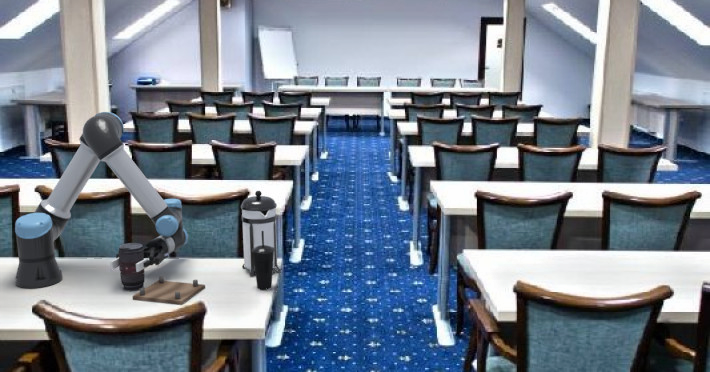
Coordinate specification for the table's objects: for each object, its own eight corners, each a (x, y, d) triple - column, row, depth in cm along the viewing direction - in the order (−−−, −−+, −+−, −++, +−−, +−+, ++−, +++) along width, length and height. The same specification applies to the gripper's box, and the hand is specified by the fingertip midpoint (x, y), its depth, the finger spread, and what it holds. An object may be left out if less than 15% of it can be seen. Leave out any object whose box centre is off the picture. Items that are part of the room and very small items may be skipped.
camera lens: (138, 292, 244) (135, 249, 241) (116, 290, 246) (113, 248, 243) (150, 284, 252) (147, 243, 249) (128, 282, 254) (125, 241, 250)
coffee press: (290, 266, 270) (288, 187, 264) (267, 279, 256) (264, 196, 250) (251, 260, 278) (248, 183, 271) (226, 272, 263) (223, 192, 257)
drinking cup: (279, 284, 251) (277, 229, 246) (269, 292, 244) (267, 235, 239) (259, 282, 253) (257, 227, 249) (249, 289, 246) (247, 233, 242)
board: (132, 299, 238) (131, 290, 237) (158, 283, 253) (157, 274, 252) (181, 304, 233) (181, 295, 232) (205, 288, 248) (204, 279, 247)
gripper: (187, 259, 262) (153, 280, 241) (134, 255, 268) (97, 274, 246) (186, 239, 260) (152, 258, 239) (132, 235, 266) (95, 253, 245)
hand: (124, 266), depth 243 cm, fingers open, 9 cm apart
